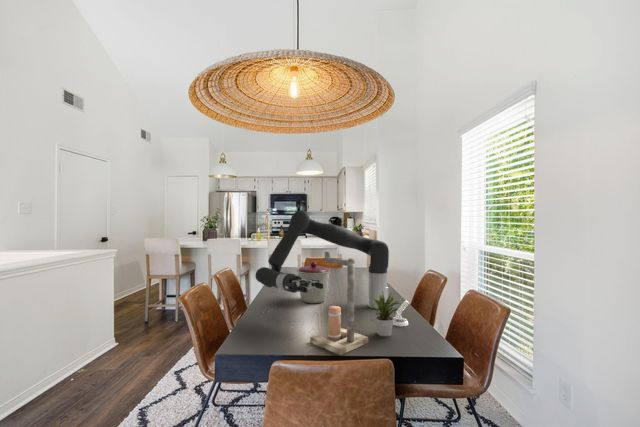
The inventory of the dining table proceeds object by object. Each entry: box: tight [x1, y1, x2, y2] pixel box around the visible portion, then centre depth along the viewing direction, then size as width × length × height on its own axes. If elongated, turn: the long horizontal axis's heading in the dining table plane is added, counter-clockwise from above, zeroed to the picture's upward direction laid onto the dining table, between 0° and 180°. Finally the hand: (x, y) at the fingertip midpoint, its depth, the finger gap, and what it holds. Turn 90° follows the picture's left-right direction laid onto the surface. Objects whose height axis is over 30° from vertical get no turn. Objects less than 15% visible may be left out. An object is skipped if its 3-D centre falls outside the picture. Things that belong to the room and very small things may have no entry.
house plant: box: [368, 291, 402, 337], centre depth 120 cm, size 14×14×16 cm
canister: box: [296, 261, 331, 304], centre depth 168 cm, size 18×18×21 cm
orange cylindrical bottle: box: [327, 305, 342, 342], centre depth 115 cm, size 5×5×12 cm
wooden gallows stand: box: [309, 251, 369, 356], centre depth 113 cm, size 14×15×32 cm
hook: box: [393, 300, 410, 327], centre depth 134 cm, size 8×12×7 cm
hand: (314, 288), depth 123 cm, fingers open, 8 cm apart
